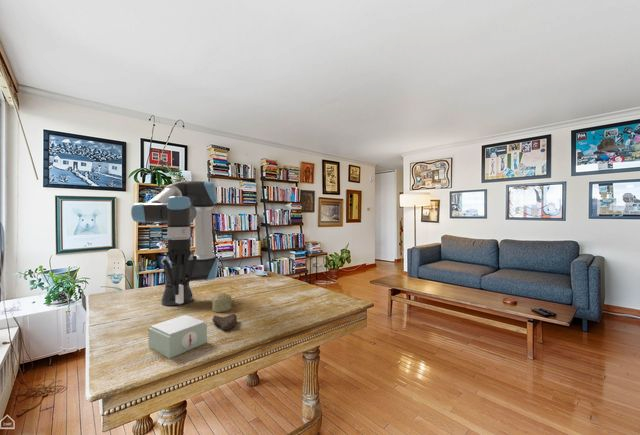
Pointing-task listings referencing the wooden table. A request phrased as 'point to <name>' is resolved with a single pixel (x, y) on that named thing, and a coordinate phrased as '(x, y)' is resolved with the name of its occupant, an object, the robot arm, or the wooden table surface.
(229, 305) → the decorative object
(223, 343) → the wooden table surface
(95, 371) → the wooden table surface
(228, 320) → the rock
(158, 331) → the scale
